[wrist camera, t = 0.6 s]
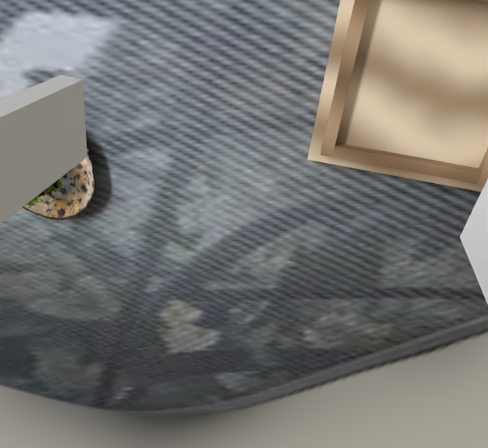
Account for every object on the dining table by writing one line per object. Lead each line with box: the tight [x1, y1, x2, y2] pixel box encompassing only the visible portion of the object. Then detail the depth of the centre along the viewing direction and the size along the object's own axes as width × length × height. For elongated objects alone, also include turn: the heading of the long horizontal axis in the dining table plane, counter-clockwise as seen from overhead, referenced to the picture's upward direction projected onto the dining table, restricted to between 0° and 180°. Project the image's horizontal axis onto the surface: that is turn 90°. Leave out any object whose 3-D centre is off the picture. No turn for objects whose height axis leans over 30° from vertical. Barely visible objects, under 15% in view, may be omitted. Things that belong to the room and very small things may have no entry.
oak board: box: [308, 0, 488, 192], centre depth 34 cm, size 16×16×2 cm
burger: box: [23, 149, 95, 220], centre depth 43 cm, size 12×12×8 cm
